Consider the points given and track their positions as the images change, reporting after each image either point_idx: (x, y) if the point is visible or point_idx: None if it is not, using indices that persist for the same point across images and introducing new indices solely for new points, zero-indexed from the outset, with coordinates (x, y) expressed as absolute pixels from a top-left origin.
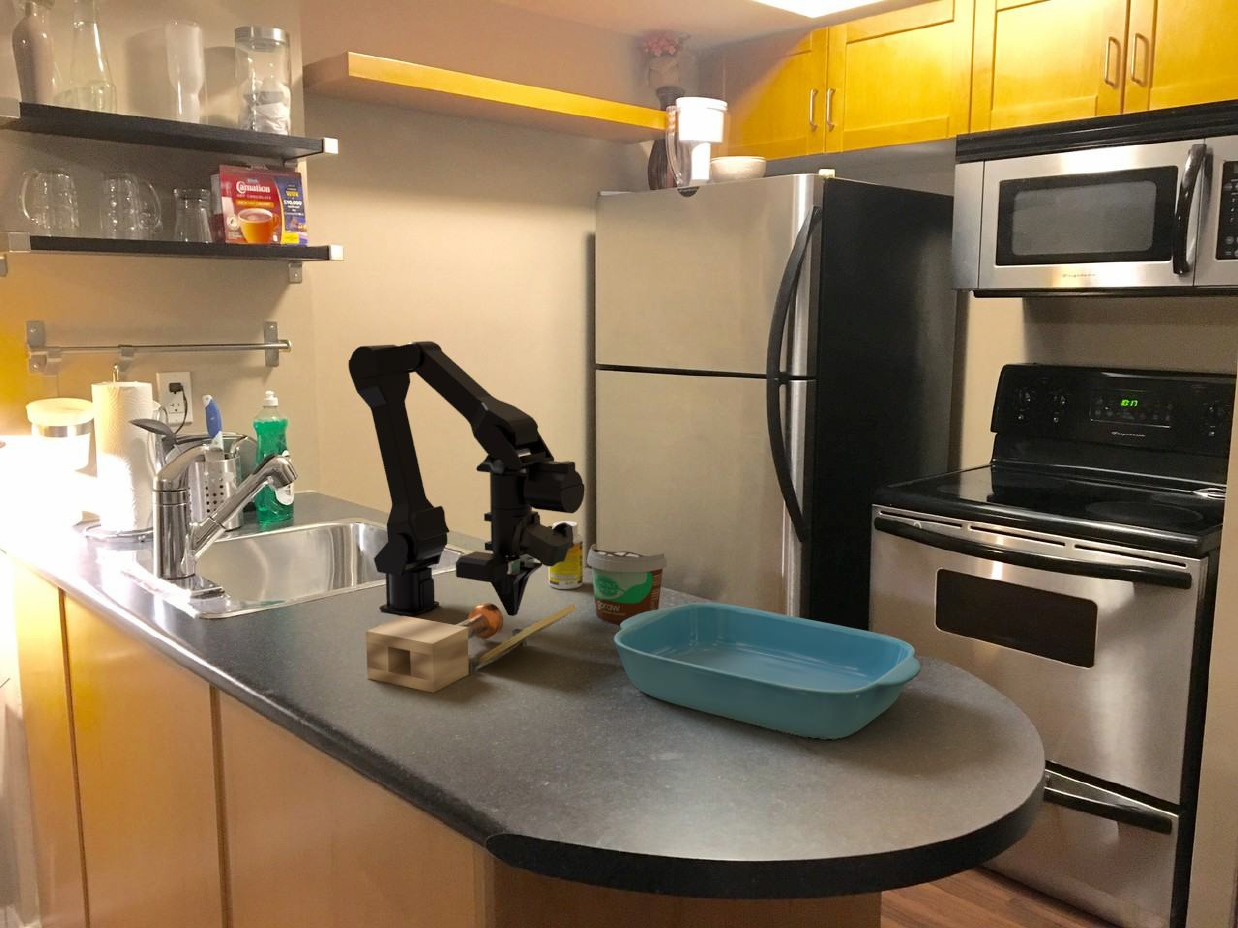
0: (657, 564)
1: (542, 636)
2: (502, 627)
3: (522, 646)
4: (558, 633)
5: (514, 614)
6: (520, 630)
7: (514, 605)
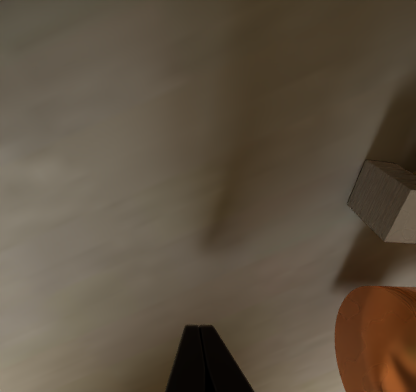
0: None
1: (238, 145)
2: (387, 291)
3: (394, 164)
4: (166, 89)
5: (214, 328)
6: (411, 214)
7: (239, 370)
